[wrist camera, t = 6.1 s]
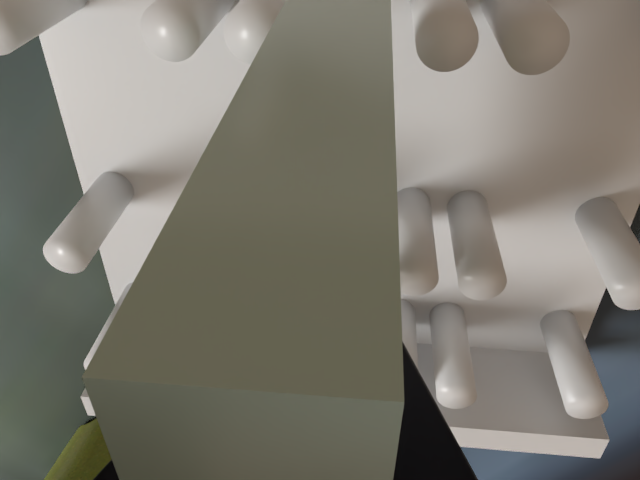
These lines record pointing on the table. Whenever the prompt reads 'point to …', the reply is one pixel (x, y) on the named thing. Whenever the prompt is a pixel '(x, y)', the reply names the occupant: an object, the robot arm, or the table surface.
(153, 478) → the green square slab
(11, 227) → the table surface
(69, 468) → the plant pot
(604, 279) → the dish rack
